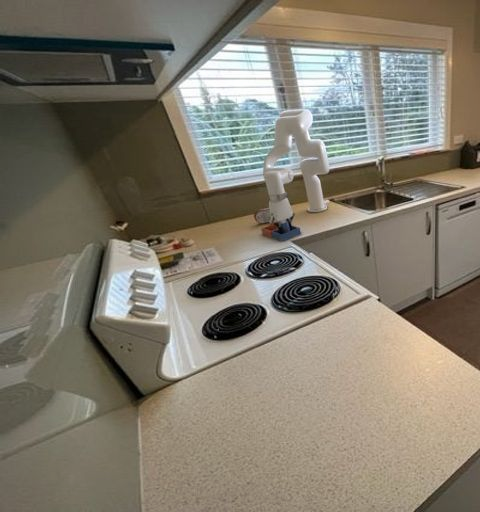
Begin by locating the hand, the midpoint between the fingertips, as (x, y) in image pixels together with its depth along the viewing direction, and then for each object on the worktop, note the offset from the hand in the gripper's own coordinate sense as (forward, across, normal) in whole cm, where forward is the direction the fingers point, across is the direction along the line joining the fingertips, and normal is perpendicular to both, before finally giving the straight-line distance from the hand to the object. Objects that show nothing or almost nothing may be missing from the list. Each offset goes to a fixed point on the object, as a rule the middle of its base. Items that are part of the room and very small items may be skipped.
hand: (285, 231), depth 152 cm
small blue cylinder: (+1, 0, 0) cm, 1 cm away
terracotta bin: (+2, 0, -10) cm, 10 cm away
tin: (+3, -8, -29) cm, 30 cm away
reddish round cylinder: (+2, 0, -10) cm, 10 cm away
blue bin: (+2, 0, 0) cm, 2 cm away
